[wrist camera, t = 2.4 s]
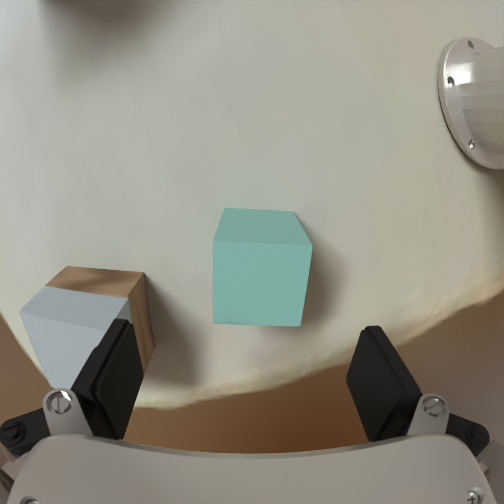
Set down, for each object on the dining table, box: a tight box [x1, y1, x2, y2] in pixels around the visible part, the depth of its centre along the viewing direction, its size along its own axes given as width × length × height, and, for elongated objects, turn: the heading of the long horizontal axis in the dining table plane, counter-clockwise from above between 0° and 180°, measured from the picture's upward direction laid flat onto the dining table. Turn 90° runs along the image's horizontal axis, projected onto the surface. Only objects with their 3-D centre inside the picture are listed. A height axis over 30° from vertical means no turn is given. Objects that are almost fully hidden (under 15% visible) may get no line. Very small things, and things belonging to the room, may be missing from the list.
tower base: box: [46, 266, 155, 373], centre depth 23 cm, size 8×8×4 cm
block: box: [213, 208, 313, 326], centre depth 19 cm, size 5×5×7 cm
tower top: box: [19, 286, 132, 390], centre depth 19 cm, size 8×8×4 cm
